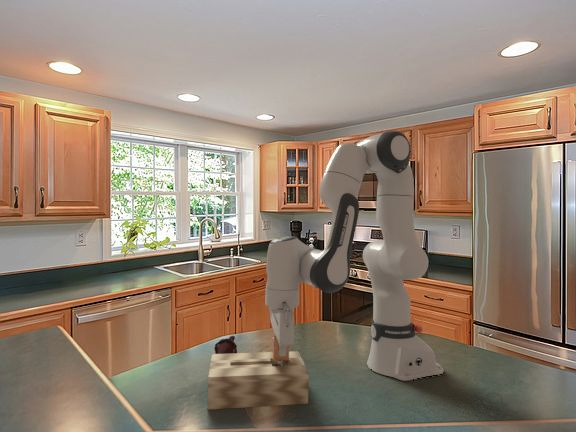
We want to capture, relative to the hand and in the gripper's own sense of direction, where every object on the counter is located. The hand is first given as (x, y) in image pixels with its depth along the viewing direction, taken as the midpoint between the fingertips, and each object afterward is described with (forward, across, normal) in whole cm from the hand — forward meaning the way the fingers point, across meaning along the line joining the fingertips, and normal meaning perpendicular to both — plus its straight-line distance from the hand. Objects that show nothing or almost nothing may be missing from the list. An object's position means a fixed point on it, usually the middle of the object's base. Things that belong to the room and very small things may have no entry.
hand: (280, 351), depth 90 cm
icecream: (+11, +22, +14) cm, 28 cm away
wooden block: (+6, 0, 0) cm, 6 cm away
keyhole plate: (+10, 0, +6) cm, 12 cm away
